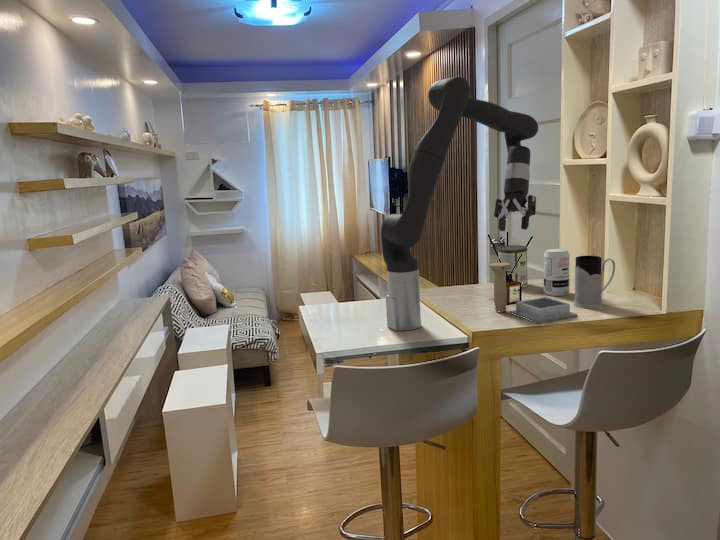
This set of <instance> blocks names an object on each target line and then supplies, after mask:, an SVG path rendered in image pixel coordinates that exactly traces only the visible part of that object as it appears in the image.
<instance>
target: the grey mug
mask: <svg viewBox="0 0 720 540" xmlns="http://www.w3.org/2000/svg"><path fill="white" fill-rule="evenodd" d="M608 261H610V262H612V271H611V276H610V278H609V280H608V281H607V283H606V284H605V285H604V286H603V282H602V281H603V273H605V265H606V263H607V262H608ZM615 271H616V263H615V260H613V258H612V259H611V258H606V259H605V260H604V261H603V262H602V257H601V256H598V255H580V256H576V257H575V266H574V302H573V304H572V305H573V306H574V307H576V308H581V309H599V308H602V307H604V304H603V302H602V294H603V292H604V290H606V289H607V287H608V286H609V285H610V284H611V282H612V280H613V278H614V276H615Z"/></svg>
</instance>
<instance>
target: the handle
mask: <svg viewBox="0 0 720 540" xmlns="http://www.w3.org/2000/svg"><path fill="white" fill-rule="evenodd" d="M488 267H489V270H491V271H493V272H494V273H493V274H494V281H493V301H494V306H495V308H494V310H496V311H495V312H497V311H500V312H499V313H505V312H506V311H507V303H508V291H507V289H508V288H507V287H506V271H507V270H508V269H510V267H511V264H510V263H499V262H495V263H494V262H493V263H490V264H488ZM504 311H505V312H504Z"/></svg>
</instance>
